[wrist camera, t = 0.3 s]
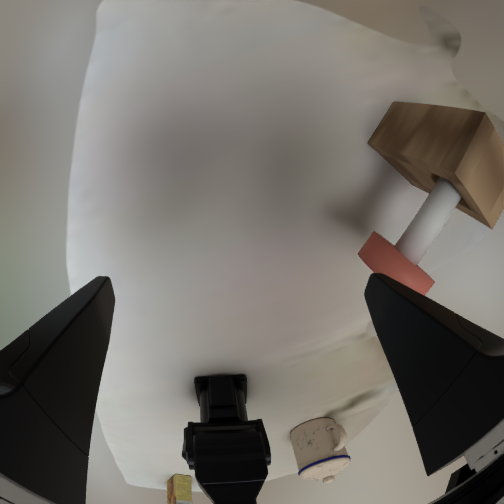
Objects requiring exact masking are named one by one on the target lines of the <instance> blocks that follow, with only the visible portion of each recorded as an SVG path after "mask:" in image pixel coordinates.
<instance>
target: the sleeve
mask: <svg viewBox="0 0 504 504" xmlns="http://www.w3.org/2000/svg"><path fill="white" fill-rule="evenodd" d="M367 144H369V145H370V146H371V147H372V148H373V149H374V150H376V151H377V152H378V153H379V154H380V155H381V156H382V157H383V158H385V159H386V160H387V161H388V162H389V163H390V164H391V165H392V166H393V167H394V168H395V169H397V170H398V171H399V172H400V173H401V174H402V175H403V176H404V177H405V178H406V179H407V180H408V181H409V182H410V183H411V184H412V185H413V186H415V187H417V188H419V189H421V190H423V191H425V192H427V193H429V194H430V192H431V191H432V189H433V187H434V186H435V184H436V182H437V181H438V179H439V177H440V176H441V177H443V178H445V179H448V180H450V181H451V183H452V184H453V185H454V187H455V188H456V189H457V190H458V192H459V193H460V194H461V196H462V197H461V199H460V201H459V202H458V204H457V206H456V207H455V208H457V209H459V210H461V211H462V212H464V213H466V214H468V215H469V216H471V217H473V218H474V219H476V220H478V221H479V222H481V223H483V224H484V225H486V226H487V227H489V228H491V229H493V227H494V226H495V224H496V222H497V220H498V219H499V217H500V215H501V213H502V211H503V209H504V145H503V143H502V141H501V139H500V137H499V135H498V133H497V132H496V130H495V128H494V126H493V124H492V123H491V121H490V119H489V118H488V116H487V114H486V113H485V112H480V111H474V110H468V109H462V108H455V107H447V106H439V105H430V104H419V103H405V102H393V103H392V105H391V107H390V108H389V110H388V111H387V113H386V115H385V116H384V118H383V119H382V121H381V123H380V124H379V126H378V127H377V129H376V130H375V132H374V134H373V135H372V137H371V138H370V140H369V141H368V143H367Z"/></svg>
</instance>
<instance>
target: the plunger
mask: <svg viewBox="0 0 504 504" xmlns="http://www.w3.org/2000/svg"><path fill="white" fill-rule="evenodd" d="M461 197H462V196H461V194H460V193H459V192H458V190H457V189H456V188H455V187H454V185H453V184H452V183H451V181H450V180H448V179H445V178H443V177H441V176H440V177H439V179H438V181H437V182H436V184H435V186H434V187H433V189H432V191H431V192H430V194H429V195H428V197H427V199H426V200H425V202H424V203H423V205H422V206H421V208H420V210H419V211H418V213H417V214H416V216H415V217H414V219H413V220H412V222H411V223H410V225H409V226H408V227H407V229H406V230H405V232H404V233H403V235H402V236H401V238H400V239H399V240H398V242H397V243H396V245H395V246H394V245H393V244H391V243H390V242H389V241H387V240H386V239H385V238H383V237H382V236H381V235H379V234H378V233H376V232H375V231H374V232H373V233H372V234H371V236H370V237H369V239H368V240H367V241H366V243H365V244H364V246H363V247H362V248H361V250H360V251H359V252H358V255H359V257H360V258H361V259H362V261H363V262H364V263H365V264H366V265H367V266H368V267H369V268H370V269H371V270H372V271H373V272H374V273H383V274H385V275H387V276H389V277H391V278H393V279H395V280H396V281H398V282H400V283H402V284H404V285H406V286H408V287H409V288H411V289H413V290H415V291H417V292H419V293H421V294H422V295H424V296H425V295H426V293H427V292H428V291H429V289H430V288H431V287H432V285H433V284H434V283H435V282H434V280H433V279H432V278H430V276H429V275H428V274H427V273H425V272H424V271H423V270H422V269H421V268H420V267H419V266H418V265H417V264H418V263H419V261H420V260H421V258H422V257H423V256H424V254H425V253H426V251H427V250H428V249H429V247H430V246H431V244H432V243H433V241H434V240H435V238H436V237H437V235H438V234H439V232H440V231H441V229H442V228H443V226H444V225H445V223H446V222H447V220H448V218H449V217H450V215H451V214H452V212H453V210H454V209H455V207H456V206H457V204H458V202H459V201H460V199H461Z"/></svg>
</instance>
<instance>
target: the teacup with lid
mask: <svg viewBox="0 0 504 504" xmlns="http://www.w3.org/2000/svg"><path fill="white" fill-rule="evenodd" d="M290 438H291V442H292V446H293V450H294V454H295V457H296V461H297V465H298V469H299V472H298V474H299V476H300V477H301V478H303V479H314V480H323V483H324V484H328V483H331V482H333V481H334V480H335V478H334V476H336V475H337V474H338V473H339V472H340V471H341V470H342V469H344V468H345V467H347V466H348V465H349V463H350V456H348V454H347V451H346V449H345V446H344V445H345V444H346V440H347V435H346V432H345V430H344V428H343V427H342V426H341V425H339V424H336V422H335V421H334V420H333V419H330V418H319V419H314V420H311V421H308V422H305V423H303V424H301V425H299V426H298V427H296V428H295V429H294V430H293V431H292V432H291V434H290Z"/></svg>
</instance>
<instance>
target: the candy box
mask: <svg viewBox="0 0 504 504" xmlns="http://www.w3.org/2000/svg"><path fill="white" fill-rule="evenodd" d="M191 492H192V491H191V476H186V475H179V474H175V475H174V476H173V477H172V478H171V479H170V480H168V481H167V504H192V493H191Z"/></svg>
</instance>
